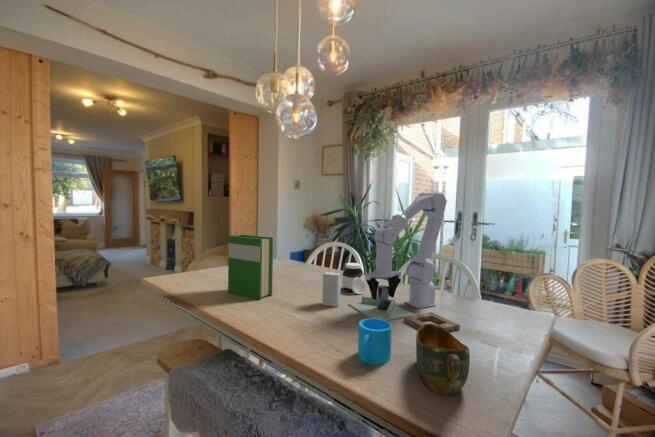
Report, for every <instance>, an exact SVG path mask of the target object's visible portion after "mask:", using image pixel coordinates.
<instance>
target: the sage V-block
mask: <svg viewBox="0 0 655 437" xmlns="http://www.w3.org/2000/svg"><path fill="white" fill-rule="evenodd" d="M348 306H349V307H352V308H353V309H354V310H356V311H358V312H360V313H361V314H363V315H364V316H366V317H367V318H368V319H370V318H373V319H381V320H385V321H387V322H389V321H393V320H394V321H395V320H399V319H404V317H406V316H412V315H416V314H415V313H413V312H411V311H409V310H407V309H405V308H403V307H401V306H398V305H397V304H396V300H395V299H393V298H389V300H388V309H387V310H379V309H377V299H376V300H374V299H372V296H368V295H367V296H366V295H362V296H361V301H355V302H348Z"/></svg>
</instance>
